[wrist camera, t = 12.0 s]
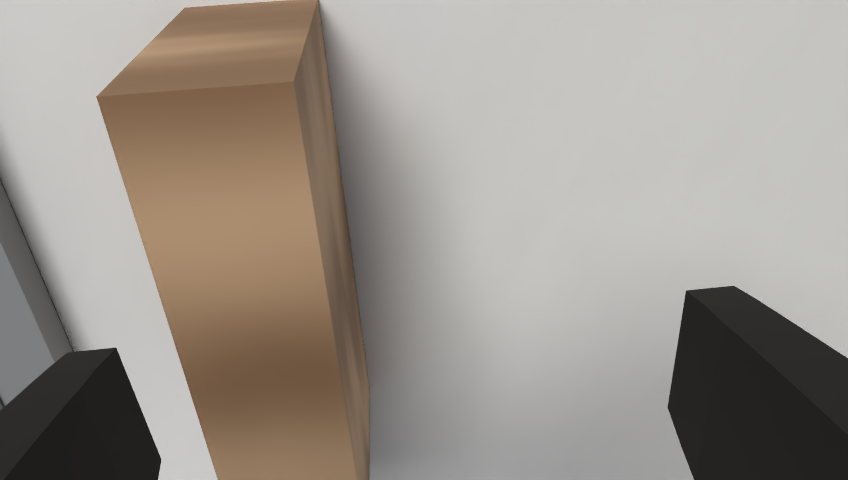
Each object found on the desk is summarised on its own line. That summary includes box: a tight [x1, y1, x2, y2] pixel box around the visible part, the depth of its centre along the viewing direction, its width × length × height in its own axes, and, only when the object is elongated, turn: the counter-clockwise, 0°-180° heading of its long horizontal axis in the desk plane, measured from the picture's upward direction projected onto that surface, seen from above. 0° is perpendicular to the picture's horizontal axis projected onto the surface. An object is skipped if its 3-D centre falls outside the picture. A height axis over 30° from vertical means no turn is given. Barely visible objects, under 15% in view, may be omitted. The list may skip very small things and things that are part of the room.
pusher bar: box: [97, 0, 370, 480], centre depth 16 cm, size 12×3×6 cm, turn 3°
